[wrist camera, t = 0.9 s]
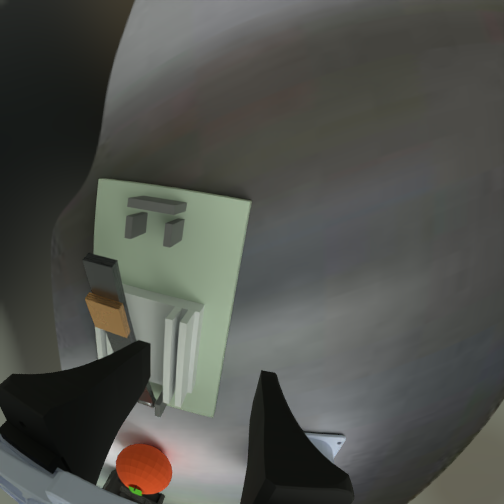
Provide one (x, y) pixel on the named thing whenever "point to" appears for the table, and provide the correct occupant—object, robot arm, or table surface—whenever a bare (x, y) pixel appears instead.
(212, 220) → the heatsink board
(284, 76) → the table surface
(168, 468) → the clementine
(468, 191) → the table surface
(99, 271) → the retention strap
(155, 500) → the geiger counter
